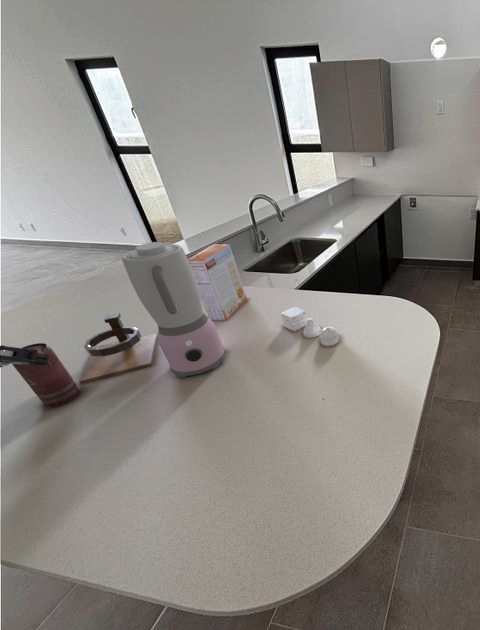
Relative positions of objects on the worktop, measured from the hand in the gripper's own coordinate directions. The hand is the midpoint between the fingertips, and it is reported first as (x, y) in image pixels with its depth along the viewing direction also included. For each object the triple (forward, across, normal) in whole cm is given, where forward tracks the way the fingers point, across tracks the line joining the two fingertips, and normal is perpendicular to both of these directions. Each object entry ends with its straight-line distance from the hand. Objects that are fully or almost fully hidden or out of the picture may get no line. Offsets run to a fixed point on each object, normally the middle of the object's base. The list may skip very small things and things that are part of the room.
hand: (24, 361), depth 68 cm
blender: (+17, -25, +1) cm, 31 cm away
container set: (+26, -51, -8) cm, 58 cm away
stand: (+20, -3, -3) cm, 21 cm away
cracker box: (+38, -20, -20) cm, 48 cm away
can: (+10, 0, +8) cm, 13 cm away
